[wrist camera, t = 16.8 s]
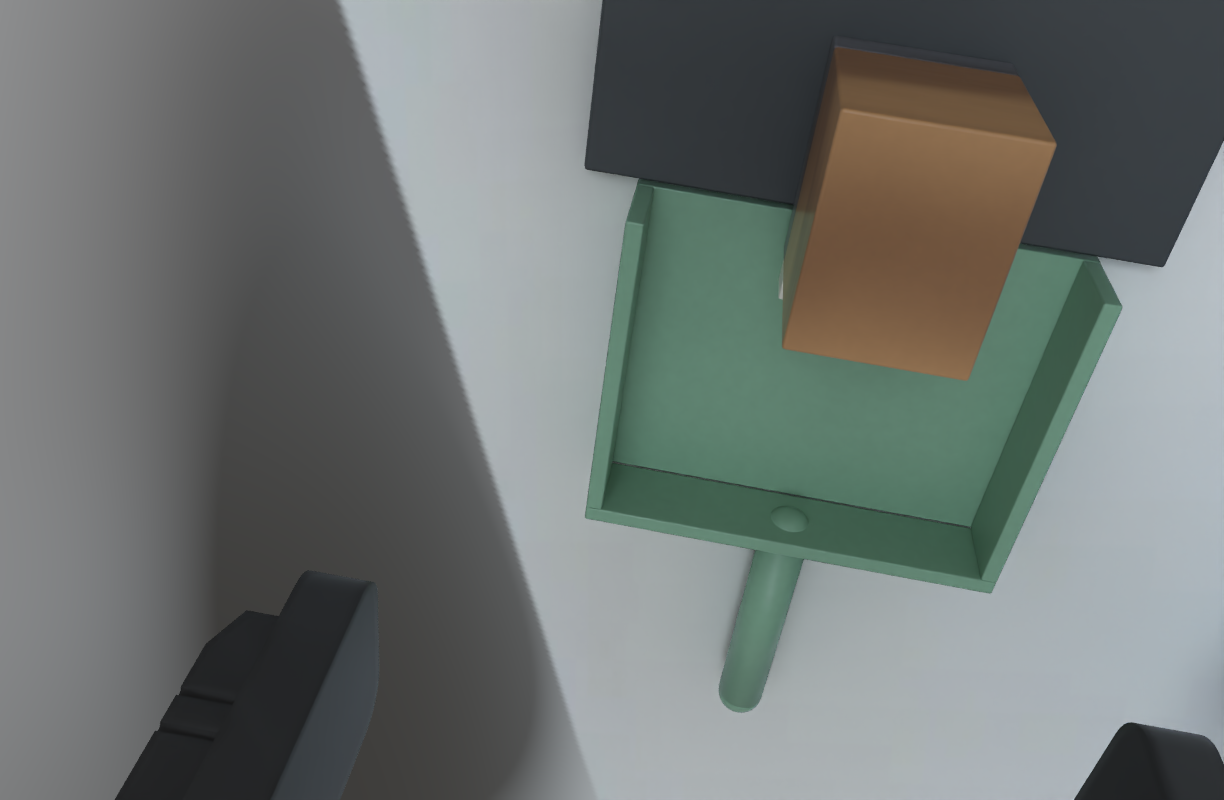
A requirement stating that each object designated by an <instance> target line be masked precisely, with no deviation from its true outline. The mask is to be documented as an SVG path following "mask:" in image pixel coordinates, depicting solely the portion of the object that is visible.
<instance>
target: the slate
mask: <svg viewBox="0 0 1224 800" xmlns="http://www.w3.org/2000/svg"><path fill="white" fill-rule="evenodd" d="M834 36H843V37H849V38H855V39H862V40H868V41H874V42H880V43H887V44H893V45H899V46H905V47H912V48H918V49H924V50H931V51H937V52H943V53H949V54H956V55H962V56H968V57H975V58H981V59H987V60H993V61H1000V62H1006V63H1011V64H1013V65H1014V67H1015V69H1016V71H1017V73H1018V75H1019V77H1020V78H1021V80H1022V81H1023V83H1024V85H1025V87H1026V89H1027V91H1028V92H1029V94H1030V96H1031V98H1032V100H1033V101H1034V103H1035V105H1036V107H1037V109H1038V110H1039V112H1040V114H1041V116H1042V118H1043V120H1044V121H1045V123H1046V125H1047V127H1048V129H1049V130H1050V132H1051V134H1052V136H1053V138H1054V139H1055V141H1056V144H1057V146H1056V149H1055V152H1054V154H1053V157H1052V160H1051V162H1050V165H1049V168H1048V170H1047V173H1046V176H1045V178H1044V181H1043V184H1042V186H1041V189H1040V192H1039V194H1038V197H1037V200H1036V202H1035V205H1034V208H1033V210H1032V213H1031V216H1030V218H1029V221H1028V223H1027V226H1026V229H1025V231H1024V234H1023V237H1022V239H1021V242H1020V243H1022V244H1028V245H1034V246H1040V247H1046V248H1052V249H1058V250H1064V251H1069V252H1075V253H1081V254H1087V255H1093V256H1099V257H1105V258H1111V259H1116V260H1122V261H1128V262H1134V263H1140V264H1146V265H1152V266H1158V267H1163V266H1164V265H1165V263H1166V261H1167V259H1168V257H1169V255H1170V253H1171V251H1172V249H1173V247H1174V244H1175V242H1176V240H1177V238H1178V236H1179V234H1180V232H1181V230H1182V228H1183V225H1184V223H1185V221H1186V219H1187V217H1188V215H1189V213H1190V211H1191V209H1192V206H1193V204H1194V202H1195V200H1196V198H1197V196H1198V194H1199V192H1200V190H1201V187H1202V185H1203V183H1204V181H1205V179H1206V177H1207V175H1208V173H1209V171H1210V169H1211V166H1212V164H1213V162H1214V160H1215V158H1216V156H1217V154H1218V152H1219V150H1220V147H1221V145H1222V143H1223V141H1224V0H603V2H602V11H601V20H600V29H599V38H598V47H597V56H596V65H595V75H594V84H593V93H592V102H591V111H590V120H589V129H588V138H587V147H586V157H585V169H587V170H593V171H599V172H605V173H610V174H616V175H622V176H628V177H634V178H640V179H646V180H652V181H657V182H663V183H669V184H675V185H681V186H687V187H693V188H699V189H705V190H710V191H716V192H722V193H728V194H734V195H740V196H746V197H752V198H758V199H763V200H769V201H775V202H781V203H787V204H793V205H794V201H795V197H796V193H797V189H798V184H799V180H800V176H801V171H802V167H803V163H804V159H805V154H806V150H807V146H808V141H809V137H810V133H811V129H812V124H813V120H814V116H815V112H816V107H817V103H818V99H819V94H820V90H821V86H822V82H823V77H824V73H825V69H826V64H827V60H828V56H829V52H830V47H831V43H832V39H833V37H834Z"/></svg>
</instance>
